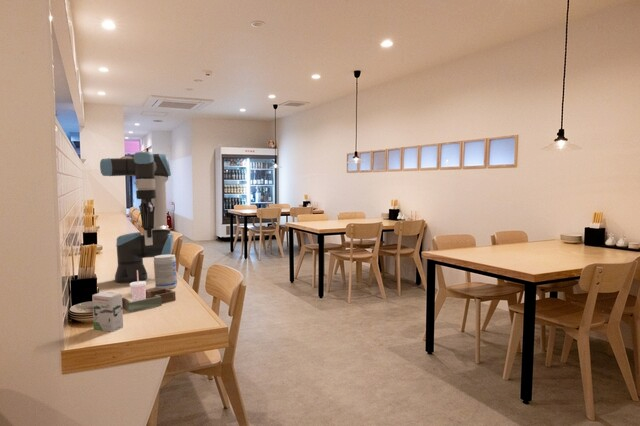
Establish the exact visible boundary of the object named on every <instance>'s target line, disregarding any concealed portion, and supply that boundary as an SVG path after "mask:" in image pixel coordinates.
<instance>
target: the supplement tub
mask: <svg viewBox="0 0 640 426" xmlns="http://www.w3.org/2000/svg"><path fill="white" fill-rule="evenodd" d="M153 269H154V283H155V284H154V285H155V289H156V290H159V289H165V288H168V289H170V290H171V289H174V288H176V287H177V286H178V279H177V278H178V276H177V275H178V273H177V259H176V254H172V253H171V254H167V255H158V256H155V257H153Z"/></svg>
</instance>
